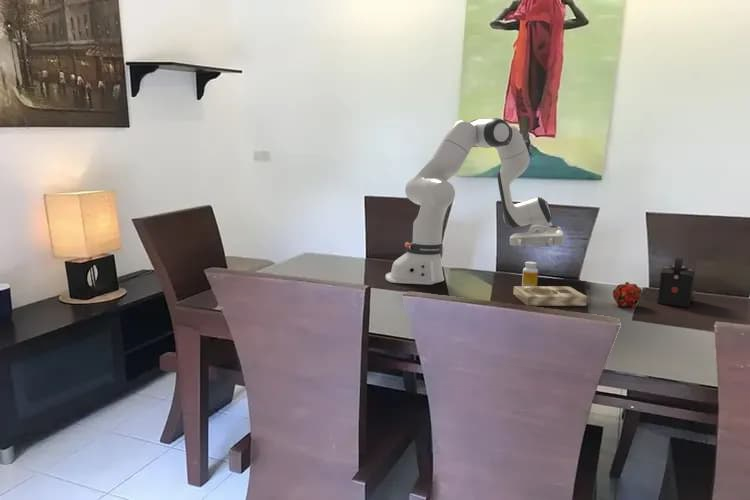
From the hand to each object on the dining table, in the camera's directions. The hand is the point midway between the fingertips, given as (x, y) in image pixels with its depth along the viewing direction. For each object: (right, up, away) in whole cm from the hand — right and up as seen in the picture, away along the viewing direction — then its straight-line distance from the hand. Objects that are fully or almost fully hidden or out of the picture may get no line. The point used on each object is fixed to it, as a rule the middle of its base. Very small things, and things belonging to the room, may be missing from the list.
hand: (534, 244), depth 213 cm
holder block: (-1, -19, -22) cm, 29 cm away
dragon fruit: (+22, -21, -28) cm, 41 cm away
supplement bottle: (-4, -17, -6) cm, 18 cm away
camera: (+43, -20, -20) cm, 51 cm away
